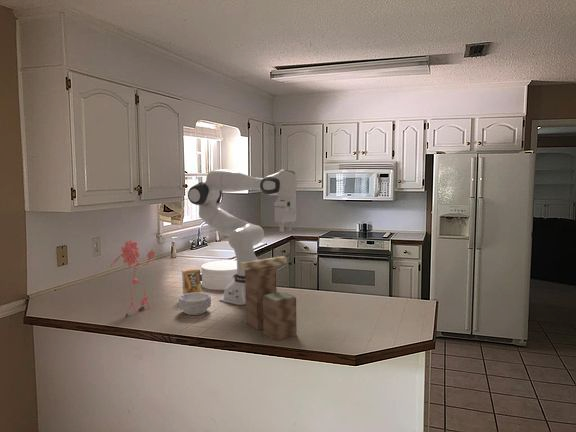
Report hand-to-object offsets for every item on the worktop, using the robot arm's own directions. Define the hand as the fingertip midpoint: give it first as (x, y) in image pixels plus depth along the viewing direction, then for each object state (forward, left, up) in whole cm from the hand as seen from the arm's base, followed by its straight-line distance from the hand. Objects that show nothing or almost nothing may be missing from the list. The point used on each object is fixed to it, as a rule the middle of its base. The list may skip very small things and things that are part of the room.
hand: (285, 231), depth 232 cm
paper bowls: (-37, -26, -38) cm, 59 cm away
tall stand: (+1, -29, -38) cm, 47 cm away
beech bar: (+2, -27, -12) cm, 29 cm away
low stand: (+14, -36, -38) cm, 54 cm away
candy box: (-53, -7, -38) cm, 65 cm away
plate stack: (-53, +26, -38) cm, 70 cm away
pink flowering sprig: (-68, -35, -38) cm, 85 cm away
